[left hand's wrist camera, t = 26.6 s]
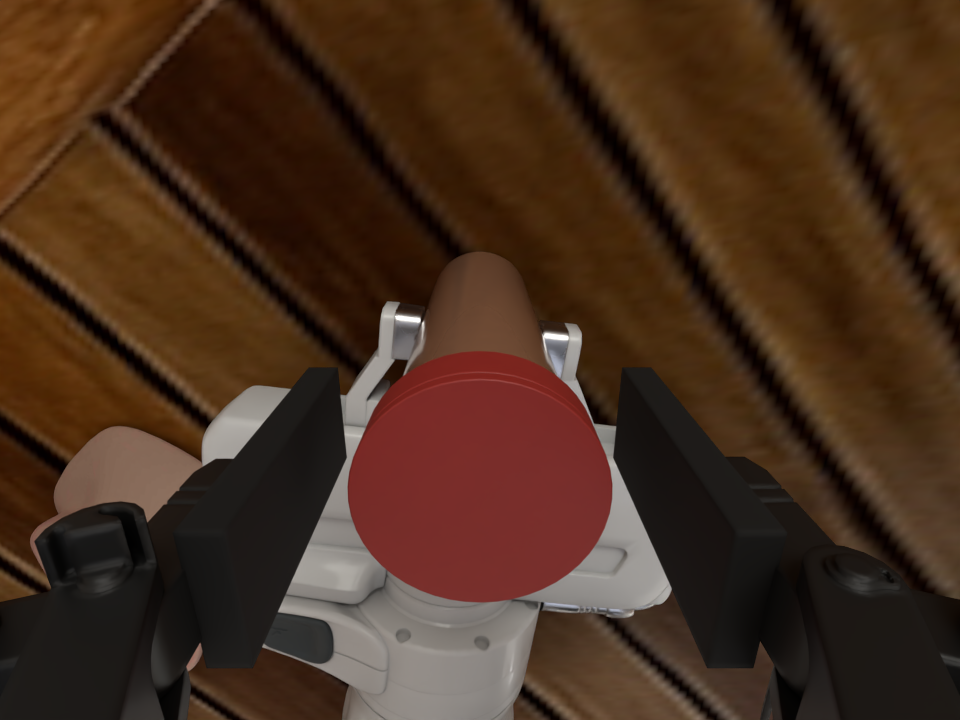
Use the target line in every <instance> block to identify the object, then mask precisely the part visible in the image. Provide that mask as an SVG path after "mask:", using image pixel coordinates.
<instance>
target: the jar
mask: <svg viewBox="0 0 960 720" xmlns="http://www.w3.org/2000/svg"><path fill="white" fill-rule="evenodd" d="M472 351H488V352H499V353H504V354H510V355H514V356H517V357H520V358H524V359H527V360H529V361H531V362H534V363H536V364H538V365H540V366H542V367H544V368H545V369H547V370H549V371H550V372H552V373H553V374H555V375H556V376H557V377H558V375H557V373H556V370H555V367H554V364H553V362H552V359H551V356H550V353H549V351H548V348H547V345H546V342H545V339H544V337H543V334H542V331H541V328H540V326H539V323H538V320H537V317H536V314H535V312H534V309H533V306H532V303H531V301H530V298H529V295H528V292H527V290H526V287H525V284H524V281H523V279H522V277H521V275H520V273H519V272H518V270H517V269H516V268H515V267H514V266H513V265H512V264H511V263H510V262H509V261H507V260H506V259H504V258H503V257H500V256H498V255H496V254H493V253H488V252H472V253H468V254H465V255H462V256H460V257H458V258H456V259H454V260H453V261H451V262H450V263H449V264H448V265H447V266H446V267H445V268H444V269H443V271H442V272H441V274H440V275H439V277H438V279H437V281H436V284H435V287H434V290H433V292H432V295H431V298H430V301H429V304H428V306H427V309H426V312H425V315H424V317H423V320H422V323H421V326H420V328H419V331H418V334H417V337H416V340H415V342H414V345H413V348H412V351H411V353H410V356H409V359H408V362H407V364H406V367H405V370H404V373H403V376H404V375H405V374H407V373H408V372H410V371H412V370H413V369H415V368H416V367H418V366H420V365H422V364H424V363H426V362H429V361H431V360H434V359H437V358H440V357H443V356H446V355H451V354H456V353H461V352H472ZM403 376H402V377H403Z"/></svg>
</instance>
